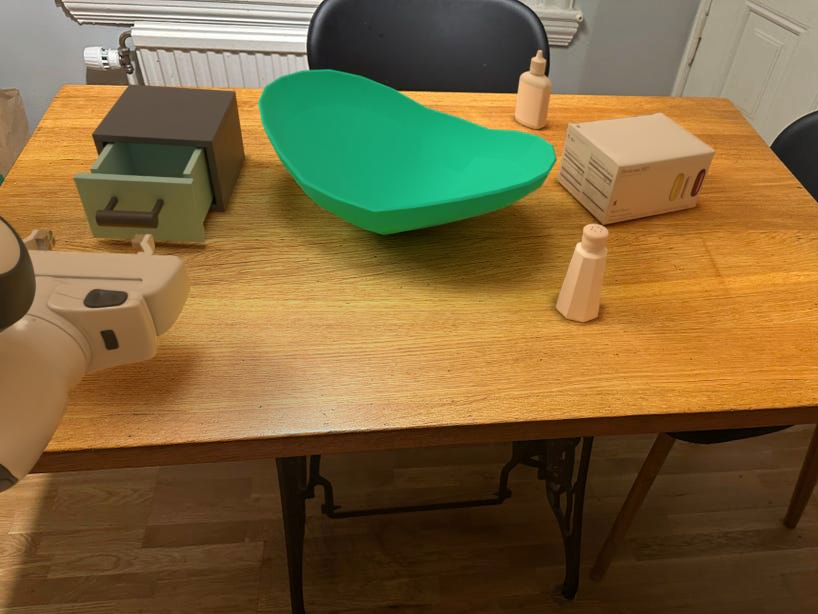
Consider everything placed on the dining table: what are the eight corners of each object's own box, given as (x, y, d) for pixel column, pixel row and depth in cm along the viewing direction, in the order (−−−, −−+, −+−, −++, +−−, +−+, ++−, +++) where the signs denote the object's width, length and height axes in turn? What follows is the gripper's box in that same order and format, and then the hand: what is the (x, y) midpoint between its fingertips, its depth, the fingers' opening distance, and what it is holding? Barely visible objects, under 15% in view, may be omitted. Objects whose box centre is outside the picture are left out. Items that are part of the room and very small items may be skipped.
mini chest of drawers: (224, 211, 91) (211, 141, 84) (113, 206, 89) (91, 134, 83) (245, 157, 101) (235, 91, 95) (146, 152, 100) (129, 84, 93)
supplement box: (603, 227, 97) (619, 165, 90) (555, 181, 105) (566, 122, 98) (697, 208, 103) (718, 149, 97) (645, 166, 111) (661, 109, 105)
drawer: (194, 266, 80) (180, 206, 75) (78, 262, 79) (56, 200, 73) (226, 185, 94) (216, 129, 88) (128, 180, 92) (112, 123, 87)
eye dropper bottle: (523, 131, 116) (533, 57, 108) (512, 116, 120) (521, 44, 112) (547, 129, 118) (559, 57, 110) (535, 115, 121) (546, 44, 113)
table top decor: (217, 208, 91) (198, 110, 82) (348, 135, 110) (345, 48, 100) (478, 324, 79) (490, 223, 70) (576, 220, 97) (596, 129, 88)
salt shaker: (592, 293, 85) (612, 215, 78) (605, 322, 81) (628, 243, 74) (549, 294, 84) (566, 216, 77) (561, 323, 80) (579, 244, 73)
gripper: (-74, 353, 60) (-4, 259, 70) (173, 359, 62) (207, 267, 72) (-110, 295, 56) (-30, 204, 66) (157, 304, 58) (195, 215, 68)
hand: (96, 237), depth 69 cm, fingers open, 8 cm apart
